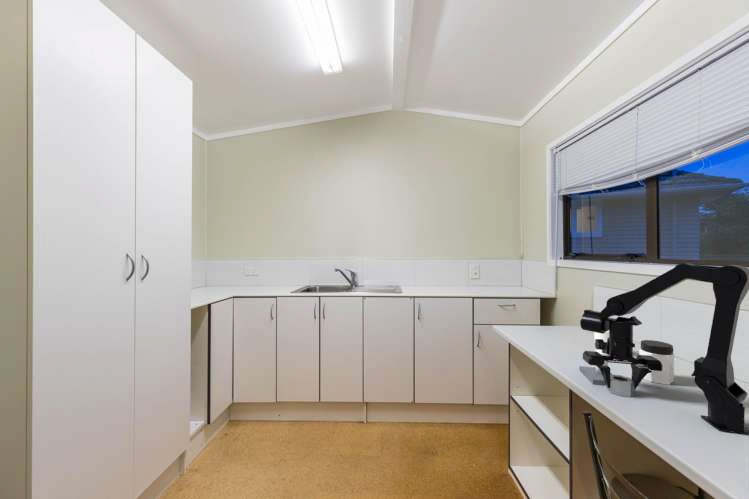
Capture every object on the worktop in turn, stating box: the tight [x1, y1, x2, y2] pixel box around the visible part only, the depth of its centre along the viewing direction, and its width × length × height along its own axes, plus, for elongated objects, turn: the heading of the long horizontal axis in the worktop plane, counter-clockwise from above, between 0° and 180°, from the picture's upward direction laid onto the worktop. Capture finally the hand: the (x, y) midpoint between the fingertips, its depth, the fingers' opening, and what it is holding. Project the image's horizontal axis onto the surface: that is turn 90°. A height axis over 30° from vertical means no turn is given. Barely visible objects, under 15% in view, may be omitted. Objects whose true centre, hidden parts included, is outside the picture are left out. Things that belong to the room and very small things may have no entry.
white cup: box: [593, 331, 609, 356], centre depth 133 cm, size 8×8×10 cm
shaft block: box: [578, 365, 614, 386], centre depth 108 cm, size 12×8×6 cm, turn 165°
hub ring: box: [606, 373, 636, 398], centre depth 98 cm, size 6×6×4 cm
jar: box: [638, 339, 675, 386], centre depth 107 cm, size 9×8×12 cm
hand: (620, 388), depth 98 cm, fingers closed on hub ring, 6 cm apart
